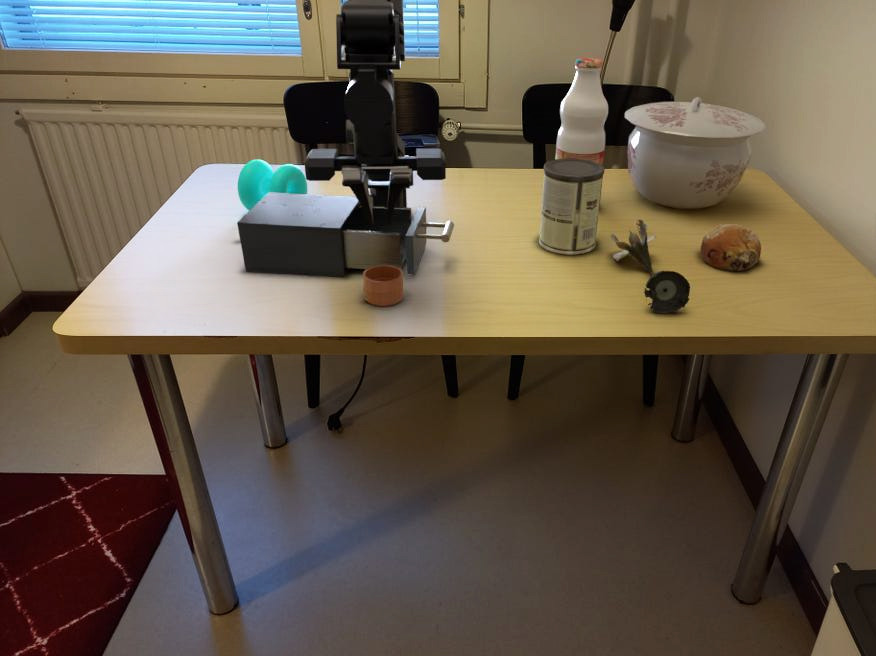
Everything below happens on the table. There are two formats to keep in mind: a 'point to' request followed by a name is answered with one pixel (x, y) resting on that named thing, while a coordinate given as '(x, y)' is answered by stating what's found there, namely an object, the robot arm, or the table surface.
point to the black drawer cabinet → (296, 234)
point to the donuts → (268, 181)
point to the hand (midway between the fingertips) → (380, 223)
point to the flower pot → (383, 285)
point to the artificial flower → (664, 285)
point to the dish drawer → (388, 238)
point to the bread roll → (731, 248)
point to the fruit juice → (583, 115)
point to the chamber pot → (688, 151)
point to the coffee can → (570, 205)
